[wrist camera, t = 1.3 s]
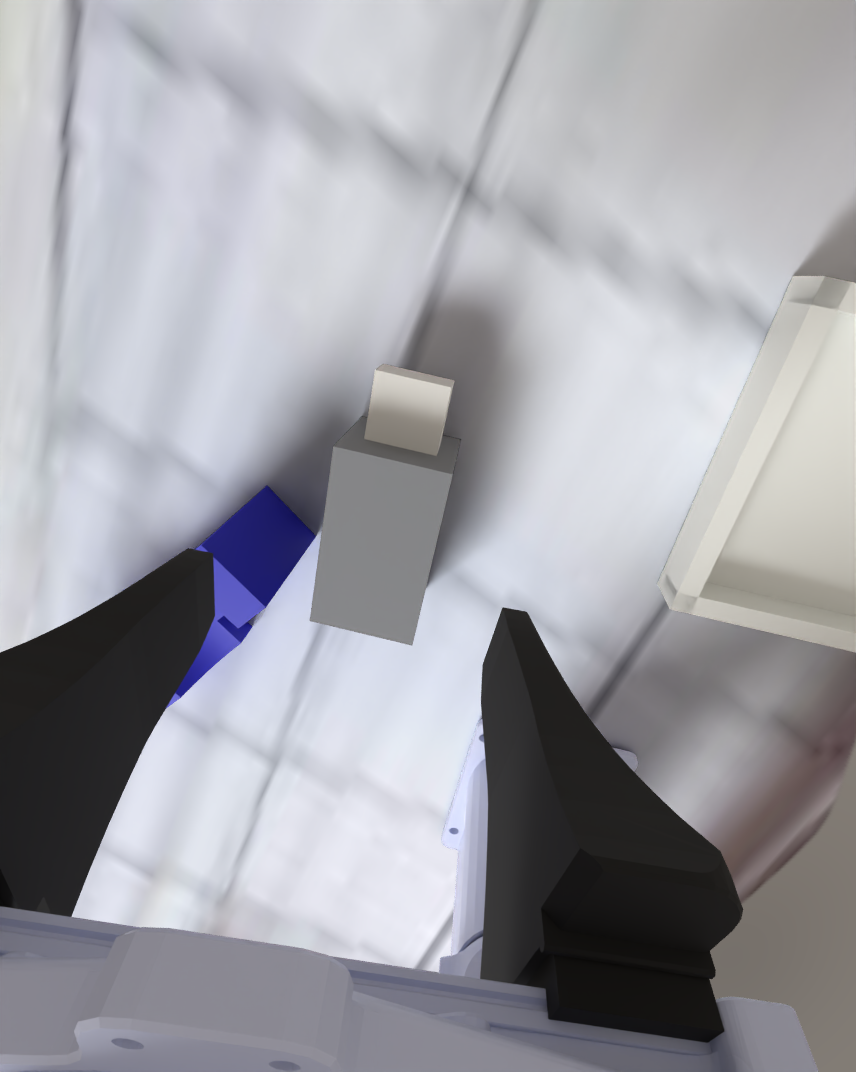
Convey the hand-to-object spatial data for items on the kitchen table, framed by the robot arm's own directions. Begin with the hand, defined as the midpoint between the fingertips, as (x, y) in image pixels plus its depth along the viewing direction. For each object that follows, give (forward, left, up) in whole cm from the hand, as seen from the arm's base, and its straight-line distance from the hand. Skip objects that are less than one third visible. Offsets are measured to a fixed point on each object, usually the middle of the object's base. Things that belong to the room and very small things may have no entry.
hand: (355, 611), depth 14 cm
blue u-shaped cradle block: (-8, +8, -10) cm, 15 cm away
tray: (+4, -17, -10) cm, 20 cm away
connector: (0, 0, -10) cm, 10 cm away
